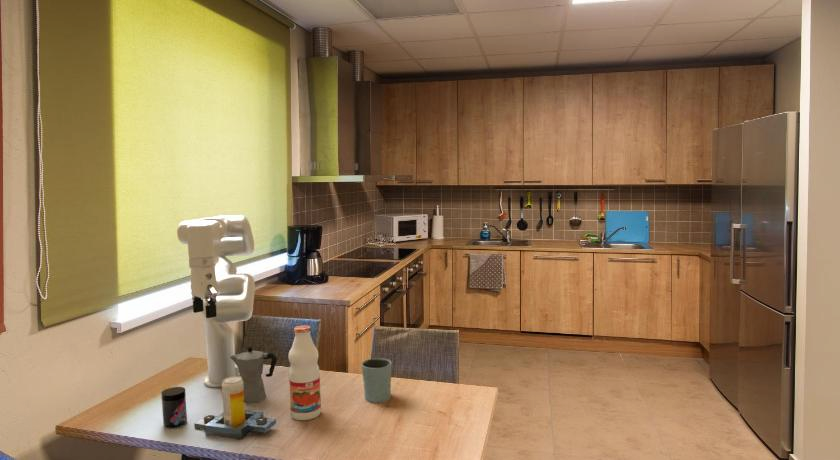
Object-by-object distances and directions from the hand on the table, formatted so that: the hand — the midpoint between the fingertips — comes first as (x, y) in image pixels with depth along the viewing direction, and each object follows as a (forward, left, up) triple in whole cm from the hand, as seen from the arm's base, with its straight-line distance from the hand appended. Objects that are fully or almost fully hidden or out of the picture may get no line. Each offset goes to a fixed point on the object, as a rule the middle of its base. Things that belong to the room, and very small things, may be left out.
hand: (204, 314), depth 183 cm
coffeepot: (-13, +6, -31) cm, 34 cm away
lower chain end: (+4, +19, -30) cm, 36 cm away
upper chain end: (0, +25, -29) cm, 38 cm away
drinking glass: (-42, +35, -31) cm, 63 cm away
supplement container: (+14, +6, -31) cm, 34 cm away
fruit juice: (-18, +29, -31) cm, 46 cm away
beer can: (+2, +22, -31) cm, 38 cm away
